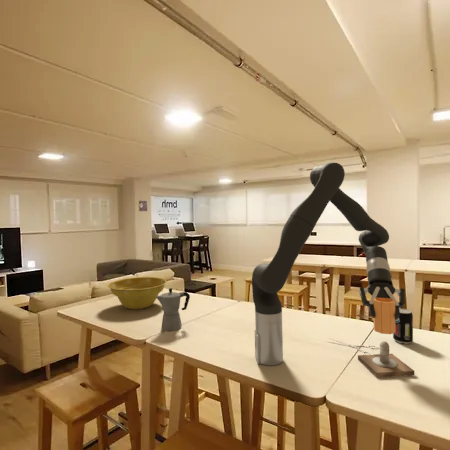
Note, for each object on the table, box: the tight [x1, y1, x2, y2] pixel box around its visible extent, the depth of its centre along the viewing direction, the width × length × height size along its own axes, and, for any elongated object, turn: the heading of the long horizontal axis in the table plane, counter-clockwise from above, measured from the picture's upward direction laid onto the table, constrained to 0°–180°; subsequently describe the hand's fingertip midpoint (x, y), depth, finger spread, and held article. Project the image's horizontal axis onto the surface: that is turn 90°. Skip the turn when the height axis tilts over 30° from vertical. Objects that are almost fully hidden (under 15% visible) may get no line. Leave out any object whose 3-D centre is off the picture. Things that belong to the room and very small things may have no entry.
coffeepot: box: [156, 288, 191, 332], centre depth 144 cm, size 15×9×18 cm, turn 110°
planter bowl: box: [107, 276, 168, 310], centre depth 180 cm, size 32×32×13 cm
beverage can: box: [392, 308, 414, 345], centre depth 123 cm, size 7×7×12 cm
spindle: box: [357, 340, 415, 378], centre depth 103 cm, size 12×12×8 cm
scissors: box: [324, 337, 368, 355], centre depth 120 cm, size 11×1×20 cm
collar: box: [373, 298, 395, 335], centre depth 102 cm, size 6×6×10 cm
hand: (385, 317), depth 101 cm, fingers closed on collar, 6 cm apart
